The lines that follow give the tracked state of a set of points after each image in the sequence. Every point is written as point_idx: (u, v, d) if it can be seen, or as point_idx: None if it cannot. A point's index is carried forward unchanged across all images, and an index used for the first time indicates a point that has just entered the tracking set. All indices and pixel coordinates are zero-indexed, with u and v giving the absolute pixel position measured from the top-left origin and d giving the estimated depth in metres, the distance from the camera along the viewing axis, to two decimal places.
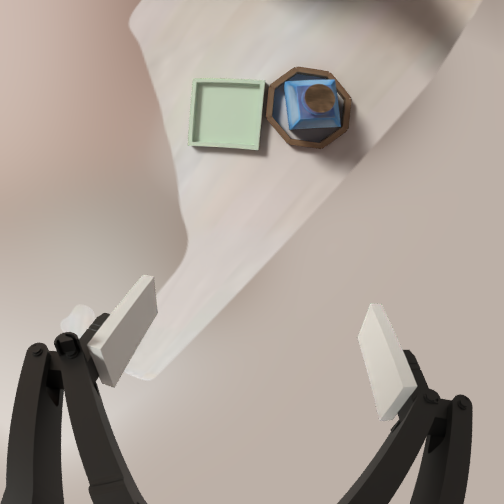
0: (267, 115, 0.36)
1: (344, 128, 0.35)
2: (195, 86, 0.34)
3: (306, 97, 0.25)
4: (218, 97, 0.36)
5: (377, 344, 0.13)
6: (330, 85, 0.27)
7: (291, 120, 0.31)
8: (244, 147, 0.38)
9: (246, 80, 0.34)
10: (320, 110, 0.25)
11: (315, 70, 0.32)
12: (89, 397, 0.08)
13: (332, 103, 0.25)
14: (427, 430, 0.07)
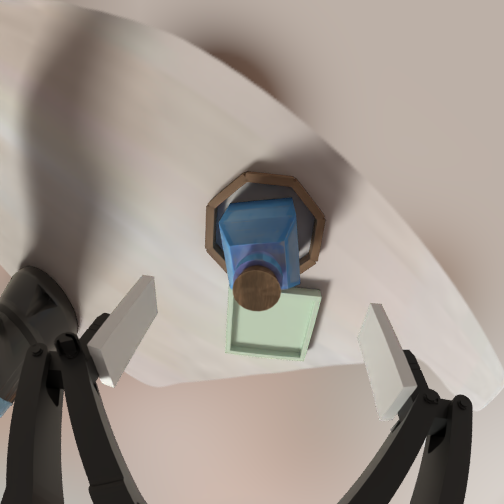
0: None
1: (293, 184, 0.26)
2: (235, 351, 0.35)
3: (257, 309, 0.19)
4: (250, 329, 0.34)
5: (377, 344, 0.13)
6: (230, 246, 0.21)
7: None
8: (316, 310, 0.31)
9: (229, 305, 0.32)
10: (277, 291, 0.18)
11: (207, 224, 0.28)
12: (89, 397, 0.08)
13: (264, 274, 0.18)
14: (427, 430, 0.07)
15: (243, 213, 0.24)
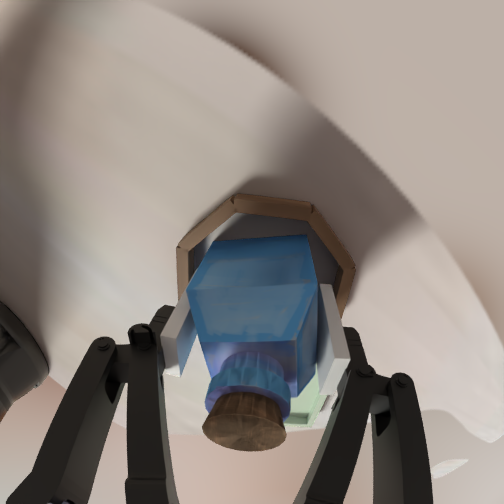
0: None
1: (310, 217, 0.16)
2: None
3: (245, 449, 0.09)
4: None
5: (321, 321, 0.15)
6: (202, 341, 0.11)
7: None
8: None
9: None
10: (280, 436, 0.09)
11: (179, 273, 0.19)
12: (153, 392, 0.09)
13: (257, 419, 0.08)
14: (368, 404, 0.09)
15: (228, 269, 0.15)
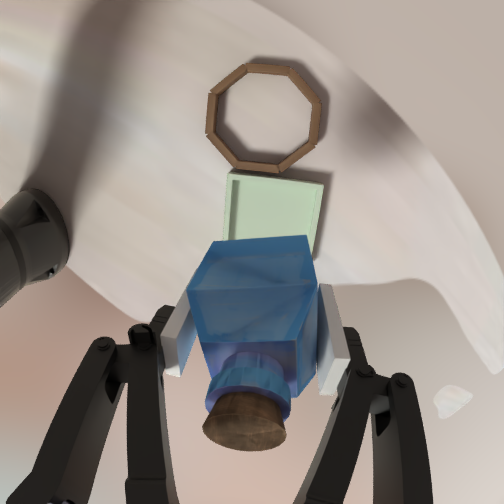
0: (276, 171, 0.28)
1: (289, 71, 0.24)
2: None
3: (245, 449, 0.09)
4: (249, 230, 0.32)
5: (321, 321, 0.15)
6: (202, 341, 0.11)
7: None
8: (319, 202, 0.29)
9: (227, 196, 0.30)
10: (280, 436, 0.09)
11: (208, 109, 0.26)
12: (153, 392, 0.09)
13: (257, 419, 0.08)
14: (368, 404, 0.09)
15: (228, 269, 0.15)
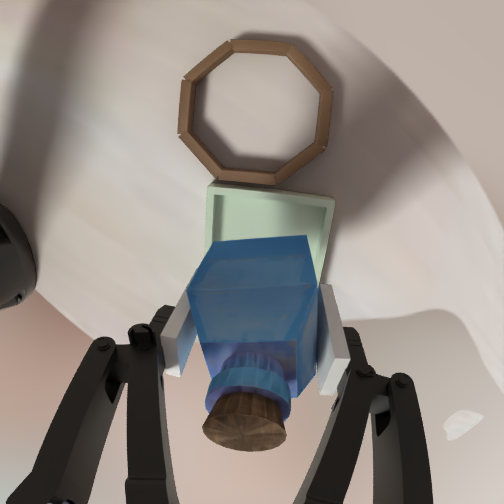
0: (272, 182, 0.21)
1: (289, 49, 0.17)
2: None
3: (245, 449, 0.09)
4: None
5: (322, 321, 0.15)
6: (202, 341, 0.11)
7: None
8: (329, 224, 0.22)
9: (207, 216, 0.23)
10: (280, 436, 0.09)
11: (181, 102, 0.19)
12: (153, 392, 0.09)
13: (257, 419, 0.08)
14: (368, 404, 0.09)
15: (228, 270, 0.15)
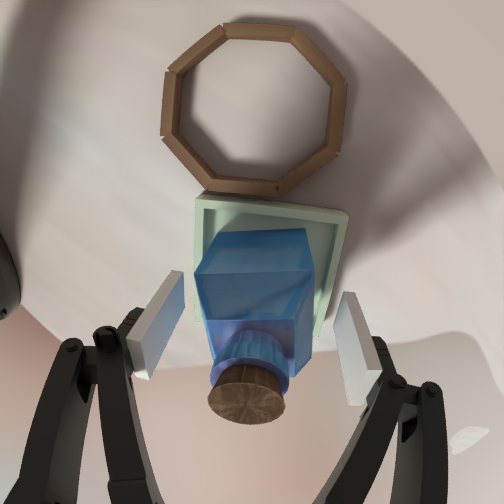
0: (274, 194, 0.18)
1: (294, 33, 0.13)
2: None
3: (246, 422, 0.11)
4: None
5: (348, 330, 0.14)
6: (209, 319, 0.13)
7: None
8: (340, 243, 0.19)
9: (196, 234, 0.19)
10: (279, 407, 0.10)
11: (165, 97, 0.16)
12: (123, 393, 0.09)
13: (259, 388, 0.10)
14: (397, 415, 0.08)
15: (233, 256, 0.16)
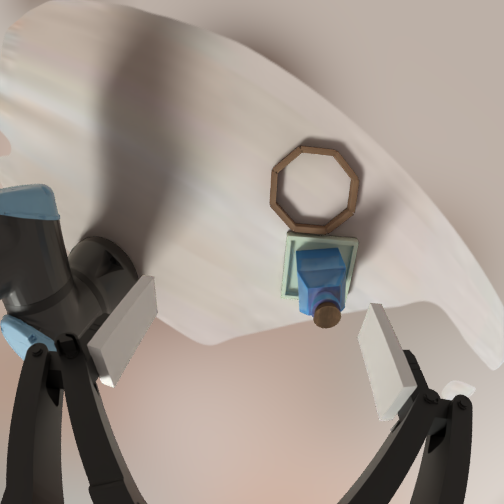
0: (324, 233, 0.38)
1: (335, 154, 0.33)
2: (289, 296, 0.43)
3: (326, 327, 0.31)
4: None
5: (377, 344, 0.13)
6: (308, 288, 0.33)
7: None
8: (354, 254, 0.39)
9: (286, 252, 0.40)
10: (338, 317, 0.30)
11: (272, 185, 0.36)
12: (89, 397, 0.08)
13: (333, 308, 0.30)
14: (427, 430, 0.07)
15: (310, 263, 0.36)
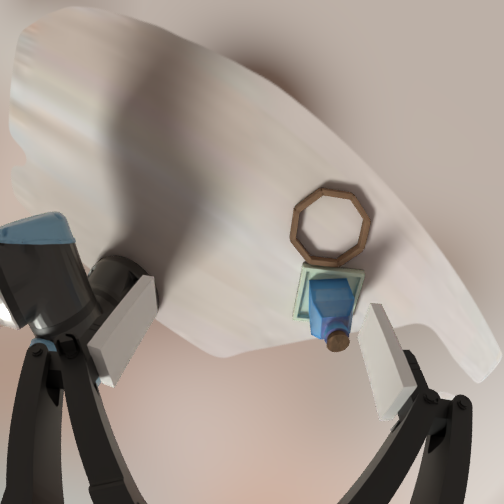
0: (336, 266, 0.42)
1: (352, 198, 0.38)
2: (300, 318, 0.47)
3: (336, 351, 0.35)
4: None
5: (377, 344, 0.13)
6: (322, 317, 0.37)
7: None
8: (361, 284, 0.43)
9: (301, 281, 0.44)
10: (347, 343, 0.35)
11: (293, 223, 0.40)
12: (89, 397, 0.08)
13: (343, 336, 0.34)
14: (427, 430, 0.07)
15: (323, 293, 0.41)
